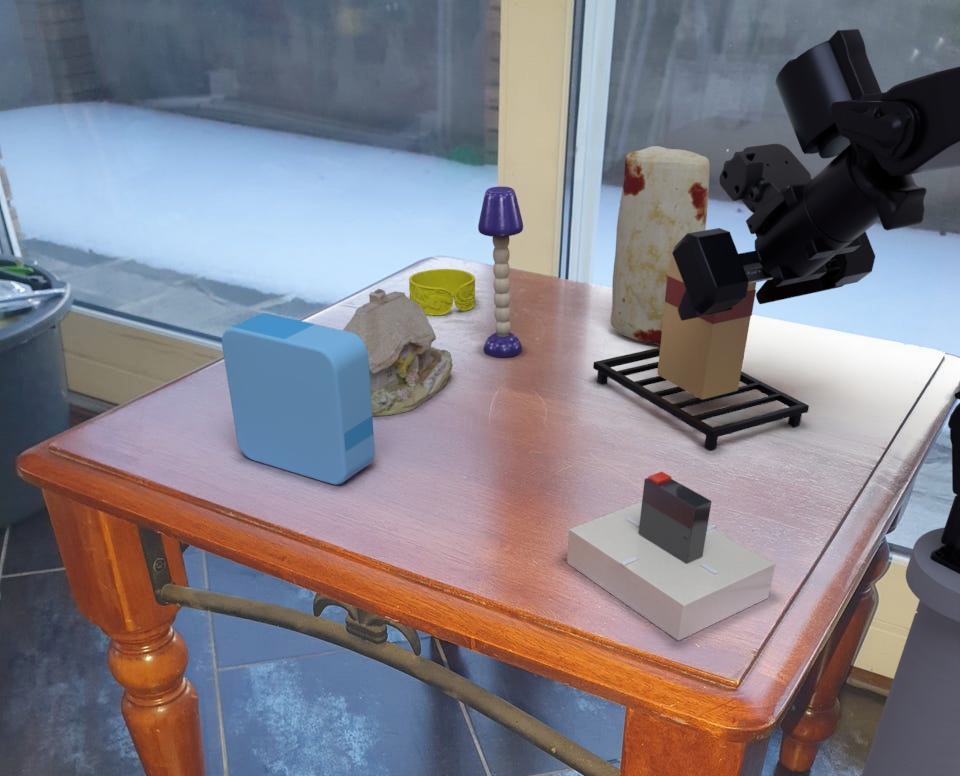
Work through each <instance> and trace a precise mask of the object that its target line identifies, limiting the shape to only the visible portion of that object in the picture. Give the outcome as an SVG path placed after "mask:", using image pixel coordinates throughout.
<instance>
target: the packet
mask: <svg viewBox="0 0 960 776" xmlns="http://www.w3.org/2000/svg"><path fill="white" fill-rule="evenodd" d="M672 252H673V251H671V259H670V267H669V276H668V277H667V286H666V294H665V310H664V319H663V328H662V336H661V345H659V347H660V353H659V357H658V361H657V362H658V368H657V371H656V376H660V377H662V378H664V379H666V380H667V382H669V383H671V384H673V385H675V387H677V386H678V387H680V388H682V389H684V390H685V391H684V392H687V393H689V394H691V395H693V396H694V397H695V398H697V397H698V398H700V399H701V400H703V399H707V398H711V397H715V396H719V395H723V394H727V393H731V392H735V391H738V388H739V387H740V376H741V371H742V370H743V369H742V368H743V363H744V358H745V352H746V347H747V340H748V334H749V329H750V323H751V317H752V316H753V310H754V305H755V304H754V303H755V297H756V293H757V289H756V288H757V282H755V283H750V284H748V290H747V295H746V298H745V299H743V300H742V301H741V302H740V303H739V304H737V305H735V306H733V307H732V310H729V311H725V312H720V313H716V314H711V315H707V316H702V317H697V318H693V319H688V320H684V321H682V320H681V318H680V316H679V313H678V308H679V305H680V302H681V300H682V297H683V295H684V292H685V289H686V288H685V285H684V282H683V280H682V277H681V275H680V272H679V269H678V267H677V264H676V262H675V259H674V256H673V254H672Z"/></svg>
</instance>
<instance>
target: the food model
mask: <svg viewBox="0 0 960 776" xmlns="http://www.w3.org/2000/svg"><path fill="white" fill-rule="evenodd" d="M710 165H711V164H710V160H709V157H707V156H705V155H701V154H699V153H696V152H694V151H689V150H686V149H675V148H674V149H673V148H666V147H664V146H659V145H652V146H649V147H646V148H643V149H640V150H635V151H632V152H630V153H627V155H626V157H625V160H624V174H623V184H622V190H621V195H620V201H619V206H618V215H617V223H616V237H615V238H616V239H615V253H614V261H613V270H612V285H611V286H612V288H611V289H612V293H611V294H612V295H611V299H612V301H611V304H612V305H611V313H610V325H611V327H612V328H613V329H614V330H616V331H617V332H618V333H619V334H620V335H622V336H625V337H628V338H630V339H633V340H636V341H639V342H643V343H649V344H654V345H659V346H660V345H661V336H662V328H663V319H664V310H665V294H666V286H667V277H668V276H669V267H670V259H671V251H673V250H674V248H675V246H676V244H677V243H678V242H679V241H680V240H681V239H682V238H683V237H684V236H685V235H686V234H687V233H693V232H699V231H705V230H707V229H706V227H707V219H708V218H707V217H708V205H709V189H710V171H711V170H710V169H711V168H710V167H711V166H710Z"/></svg>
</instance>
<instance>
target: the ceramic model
mask: <svg viewBox="0 0 960 776" xmlns="http://www.w3.org/2000/svg"><path fill="white" fill-rule="evenodd" d="M368 298H369V302H366V303H365V304H362V306H358V308H356V310H355V313H354V314H353V316H352V317H351V319H350V321H348V323H346V325H345V326H344V327H343V329H342V330H344V331H348V332H352V333H354V334H356V335H357V336H359V337H360V338H361V339H362V341H363V342H364V344H365V346H366V348H367V351H368V360H369V375H370V389H371V404H372V417H373V416H374V417H375V416H376V417H379V416H380V417H381V416H383V417H384V416H390V415H396V414H397V415H398V414H402V413H407V412H409V411H412V410H414V409H416V408H417V407H419V406H420V405H422V404H423V403H425V402H426V401H428V400H430V399H431V398H432V397H434V396H435V395H436V394H437V393H438V392H440V391H441V390H442V389H443V388H444V387H445V386H446V385H447V384H448V381H449V377H450V376H451V373H452V370H453V367H454V364H453V359H452V354H451V351H448V350H446V349H440V348H436V347H435V346H432V343H433V342H434V341H436V340H437V337H436V334H435V333H436V332H435V331H434V329H433V327H432V324H431V323H430V320H429V319H428V317H427V314H425V313H424V311H423V309H422V308H421V307H420V305H419V304H418V303H417V302H415V301H412V300H410V297H408V296H407V295H406V293H405V292H402V291H396V290H395V291H392V292H389V293H386V291H385V290H384V289H382V288H381V289H380V288H377V289H376V290H374V291H370V293H368Z"/></svg>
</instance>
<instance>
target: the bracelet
mask: <svg viewBox="0 0 960 776" xmlns="http://www.w3.org/2000/svg"><path fill="white" fill-rule="evenodd" d="M408 284H409V286H408V288H409V289H408V290H409V299H410V300H412V301H415V302H417V303H418V304H419V305H420V307H421V308H422V309H423V311H424V313H425V315H426V316H428V315H429V316H445V315H446V314H448V313H449V312H450V311H451V309H452V308H453V306H454V305H455V307H456V308H457V309H458V310H460V311H462V312H467V311H469V310H472V309H473V308H475V305H476V302H475V298H476V276H475V275H474V274H472V273H471V272H469V271H466V270H462V269H455V268H437V269H429V270H423V271H419V272H416V273H414V274H412V275H411V276H410V277H409V278H408Z"/></svg>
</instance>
